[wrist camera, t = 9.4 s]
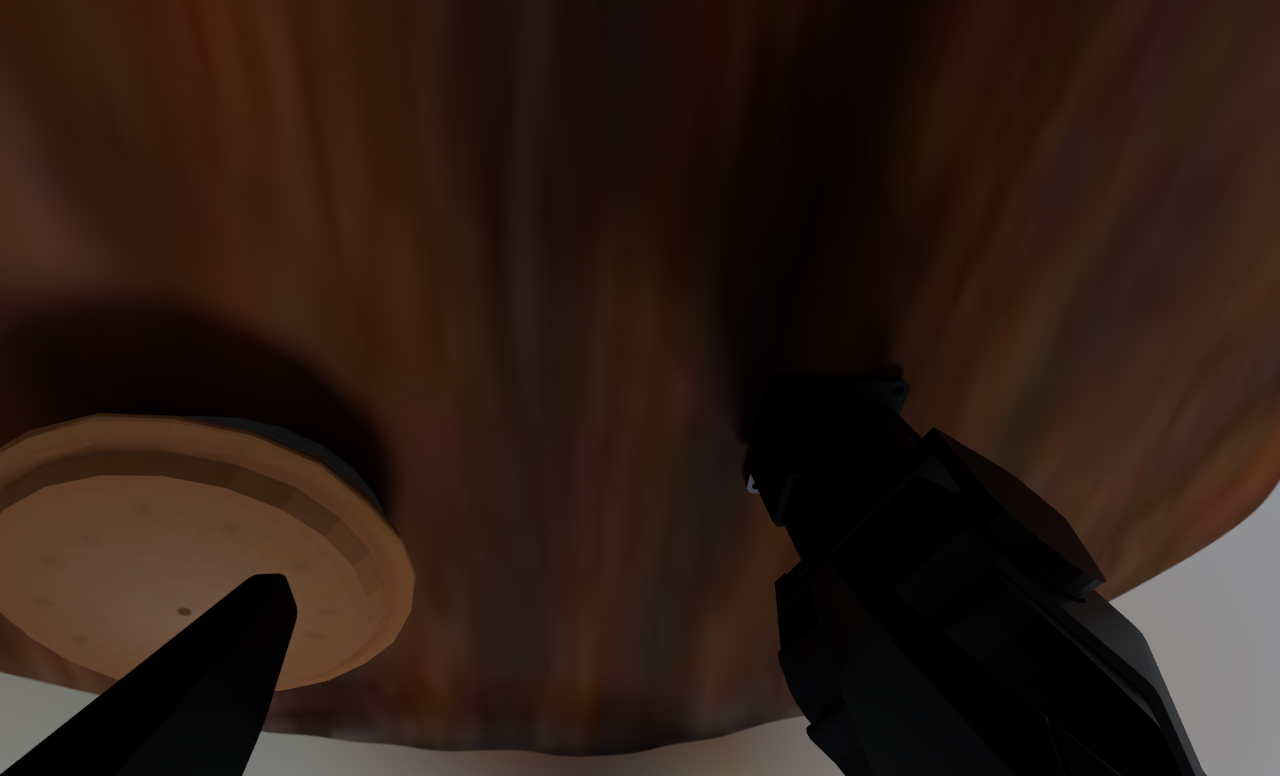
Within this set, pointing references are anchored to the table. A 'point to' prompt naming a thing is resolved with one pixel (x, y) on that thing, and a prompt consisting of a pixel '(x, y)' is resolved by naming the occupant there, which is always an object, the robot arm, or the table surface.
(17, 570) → the pie
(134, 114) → the table surface
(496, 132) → the table surface
